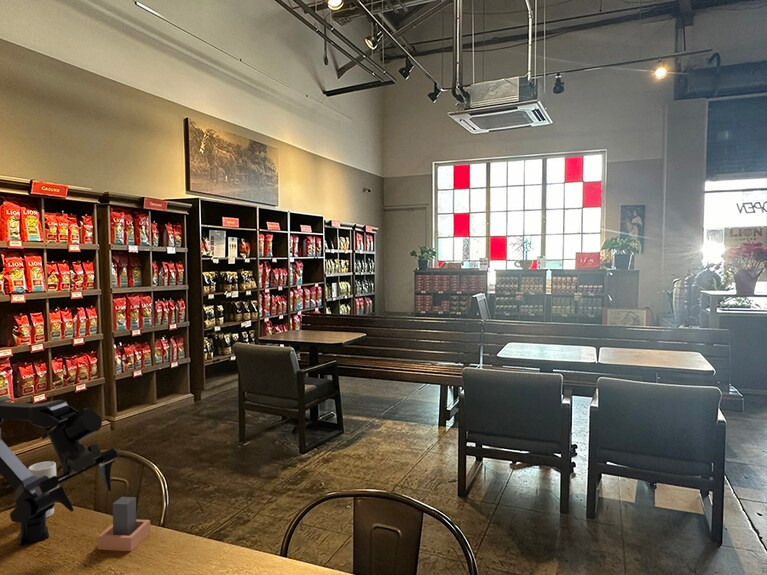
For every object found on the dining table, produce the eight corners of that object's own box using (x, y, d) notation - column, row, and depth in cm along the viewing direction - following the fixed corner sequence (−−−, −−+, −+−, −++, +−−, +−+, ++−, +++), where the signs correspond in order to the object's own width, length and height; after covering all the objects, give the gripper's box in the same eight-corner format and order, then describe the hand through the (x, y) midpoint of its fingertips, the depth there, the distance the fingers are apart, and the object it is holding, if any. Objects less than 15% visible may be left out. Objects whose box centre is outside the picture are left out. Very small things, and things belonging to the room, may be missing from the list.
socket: (98, 549, 127) (97, 536, 127) (119, 530, 136) (119, 518, 136) (131, 551, 126) (131, 538, 126) (150, 532, 135) (150, 520, 135)
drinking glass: (42, 523, 140) (41, 471, 139) (22, 520, 141) (21, 469, 140) (62, 511, 146) (61, 462, 146) (43, 508, 148) (42, 460, 147)
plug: (113, 544, 129) (112, 503, 129) (122, 536, 133) (121, 496, 133) (127, 545, 129) (127, 504, 128) (136, 536, 133) (136, 497, 132)
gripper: (34, 459, 117) (60, 519, 115) (113, 424, 131) (137, 477, 130) (24, 466, 124) (48, 523, 122) (100, 432, 138) (123, 483, 137)
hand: (91, 501), depth 128 cm, fingers open, 9 cm apart
